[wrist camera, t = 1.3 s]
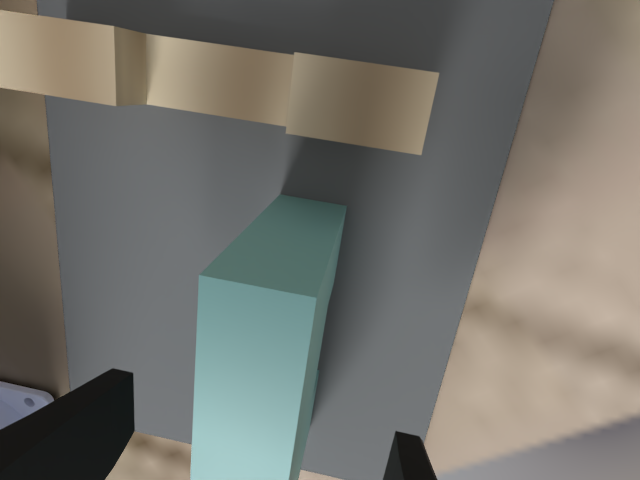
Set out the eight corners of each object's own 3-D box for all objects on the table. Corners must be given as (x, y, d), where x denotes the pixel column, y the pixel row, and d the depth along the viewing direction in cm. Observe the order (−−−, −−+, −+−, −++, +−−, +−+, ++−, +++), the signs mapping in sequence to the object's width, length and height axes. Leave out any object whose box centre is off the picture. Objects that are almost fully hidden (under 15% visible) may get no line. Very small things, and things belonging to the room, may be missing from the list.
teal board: (256, 415, 18) (185, 593, 12) (279, 194, 15) (198, 275, 8) (309, 427, 18) (268, 614, 12) (346, 205, 15) (316, 297, 8)
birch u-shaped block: (70, 87, 15) (-3, 87, 12) (66, 24, 14) (-13, 7, 11) (413, 141, 14) (421, 155, 11) (427, 76, 13) (439, 72, 10)
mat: (78, 410, 20) (72, 416, 20) (39, -83, 14) (29, -88, 13) (408, 486, 19) (408, 494, 19) (555, -20, 12) (560, -23, 12)
